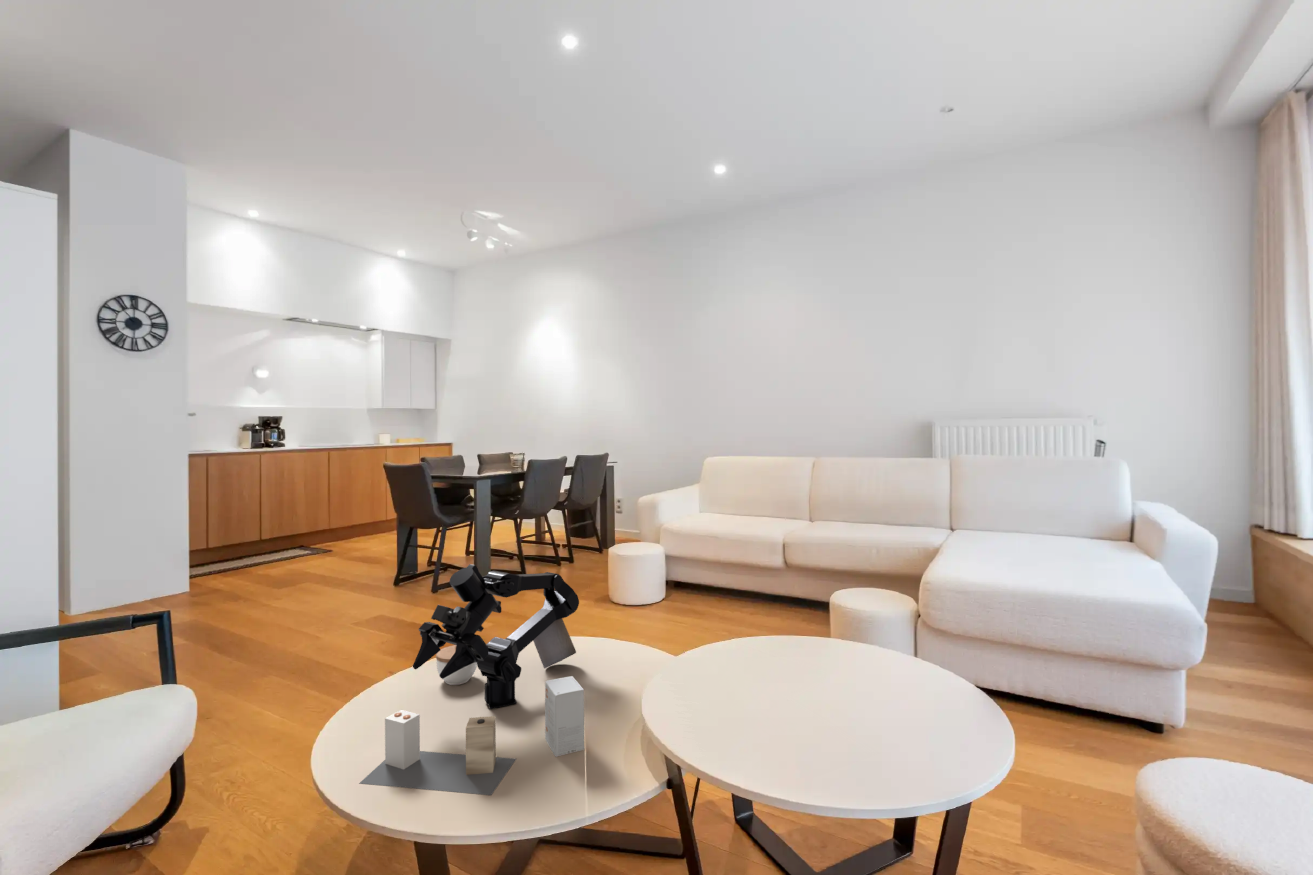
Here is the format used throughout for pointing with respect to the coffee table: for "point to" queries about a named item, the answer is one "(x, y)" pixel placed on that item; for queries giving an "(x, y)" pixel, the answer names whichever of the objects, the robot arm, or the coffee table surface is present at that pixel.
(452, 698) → the coffee table surface
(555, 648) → the pillar candle
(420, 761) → the mat
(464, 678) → the lidded jar
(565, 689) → the small box
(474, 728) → the tile one
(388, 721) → the tile two
